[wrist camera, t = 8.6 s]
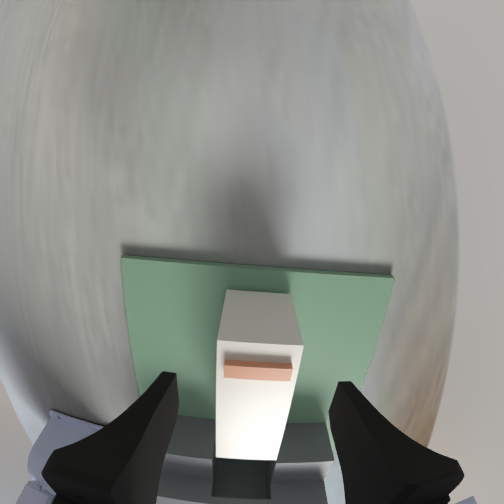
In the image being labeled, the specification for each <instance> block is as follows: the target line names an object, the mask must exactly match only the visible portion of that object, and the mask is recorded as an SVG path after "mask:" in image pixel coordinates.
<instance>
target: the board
mask: <svg viewBox="0 0 504 504" xmlns="http://www.w3.org/2000/svg"><path fill="white" fill-rule="evenodd" d="M121 265H122V278H123V289H124V299H125V308H126V316H127V324H128V332H129V339H130V345H131V352H132V358H133V363H134V369H135V375H136V380H137V385H138V390H139V395H140V396H141V395H142V394H143V393H144V392H145V391H146V390H147V389H148V388H149V386H150V385H151V384H152V383H153V382H154V381H155V379H156V378H157V377H158V376H159V374H160V373H161V372H163V371H166V372H173V373H176V374H177V386H178V396H179V408H178V414H177V415H184V416H191V417H199V418H208V419H216V362H217V337H218V332H219V327H220V321H221V316H222V311H223V306H224V300H225V295H226V290H227V289H229V290H242V291H255V292H269V293H284V294H292V298H293V302H294V307H295V311H296V315H297V319H298V323H299V327H300V331H301V336H302V340H303V344H304V347H303V352H302V357H301V361H300V366H299V371H298V375H297V380H296V384H295V389H294V393H293V397H292V401H291V406H290V410H289V414H288V418H287V422H286V423H323V422H326V425H327V430H328V434H329V439H330V443H331V448H332V452H333V451H334V449H335V444H334V440H333V437H332V433H331V428H330V421H329V413H328V411H329V408H330V405H331V402H332V399H333V396H334V393H335V390H336V387H337V384H338V381H351V382H352V383H353V384H354V385H355V386H356V387H357V389H358V390H359V391H360V388H361V386H362V383H363V381H364V378H365V375H366V372H367V370H368V367H369V364H370V361H371V358H372V355H373V352H374V349H375V346H376V343H377V340H378V337H379V334H380V331H381V328H382V324H383V321H384V318H385V314H386V311H387V307H388V303H389V300H390V296H391V292H392V288H393V285H394V281H395V278H394V277H393V276H392V275H386V274H370V273H354V272H339V271H324V270H310V269H295V268H282V267H268V266H255V265H242V264H229V263H216V262H204V261H191V260H179V259H167V258H156V257H144V256H133V255H124V256H122V257H121ZM217 458H220V457H217ZM226 459H232V458H226ZM240 460H248V459H240ZM262 461H266V460H262Z"/></svg>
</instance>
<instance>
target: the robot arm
mask: <svg viewBox="0 0 504 504" xmlns="http://www.w3.org/2000/svg"><path fill="white" fill-rule="evenodd" d="M178 408H179V396H178V386H177V374H176V373H173V372H166V371H163V372H161V373H160V374H159V376H158V377H157V378H156V379H155V381H154V382H153V383H152V384H151V385H150V386H149V388H148V389H147V390H146V391H145V392H144V393H143V394H142V395H141V396H140V397H139V398H138V399H137V400H136V401H135V402H134V403H133V404H132V405H131V406H130V407H129V408H128V409H127V410H125V411H124V412H123V413H122V414H121V415H120V416H118V417H117V418H116V419H114V420H113V421H112V422H110V423H109V424H108V425H106V426H104V427H103V426H99V425H96V424H92V423H89V422H86V421H83V420H79V419H76V418H73V417H70V416H67V415H64V414H61V413H58V412H56V411H53V410H50V411H49V415H50V417H51V418H50V419H49V421H48V423H47V424H46V426H45V427H44V429H43V431H42V432H41V434H40V436H39V437H38V439H37V441H36V442H35V444H34V446H33V447H32V449H31V452H30V454H29V458H28V472H29V475H30V477H31V479H32V481H29V482H28V483H27V484H26V485H25V487H24V489H23V491H22V493H21V495H20V497H19V498H18V500H17V502H16V504H156V501H157V494H158V487H159V481H160V476H161V470H162V466H163V462H164V458H165V455H166V452H167V449H168V446H169V443H170V440H171V437H172V433H173V430H174V427H175V424H176V419H177V414H178ZM328 413H329V421H330V428H331V433H332V437H333V440H334V444H335V448H336V451H337V455H338V458H339V462H340V466H341V470H342V475H343V483H344V491H345V501H346V504H448V502H449V501H450V497H449V495H448V494H449V493H451V492H452V491H453V490H454V489H455V488H456V487H457V486H458V485H459V484H460V482H461V481H462V480H463V477H464V473H463V471H462V469H461V467H460V465H459V463H458V461H457V460H454V459H452V458H449V457H446V456H443V455H441V454H438V453H436V452H434V451H432V450H430V449H428V448H426V447H424V446H422V445H421V444H419V443H417V442H416V441H414V440H412V439H411V438H409V437H408V436H407V435H405V434H404V433H402V432H401V431H400V430H399V429H397V428H396V427H395V426H394V425H392V424H391V423H390V422H389V421H388V420H387V419H386V418H385V417H384V416H383V415H382V414H380V413H379V412H378V411H377V409H376V408H375V407H374V406H373V405H372V404H371V403H370V402H369V401H368V400H367V399H366V398H365V397H364V395H363V394H362V393H361V392H360V391H359V390H358V389H357V387H356V386H355V385H354V384H353V383H352V382H351V381H338V384H337V387H336V390H335V393H334V396H333V399H332V402H331V405H330V408H329V411H328ZM456 504H477V503H476V501H475V499H474V497H473V496H472V497H469V498H467V499H465V500H463V501H460V502H458V503H456Z"/></svg>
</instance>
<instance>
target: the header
mask: <svg viewBox="0 0 504 504" xmlns="http://www.w3.org/2000/svg"><path fill="white" fill-rule="evenodd" d="M333 463H334V457H333V452H332V448H331V443H330V439H329V434H328V430H327V425H326V422H323V423H286V426H285V430H284V434H283V438H282V441H281V445H280V449H279V453H278V456H277V460H266V461H262V460H240V459H226V458H217V457H216V419H208V418H199V417H191V416H184V415H177V419H176V424H175V427H174V430H173V433H172V437H171V440H170V443H169V446H168V449H167V452H166V455H165V458H164V462H163V466H162V470H161V476H160V481H159V487H158V494H157V501H156V503H157V504H328V503H327V497H326V491H325V485H324V479H325V477H326V476H327V474H328V472H329V470H330V468H331V466H332V464H333Z"/></svg>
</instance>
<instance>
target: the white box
mask: <svg viewBox="0 0 504 504" xmlns="http://www.w3.org/2000/svg"><path fill="white" fill-rule="evenodd" d="M303 347H304V344H303V340H302V336H301V331H300V327H299V323H298V319H297V315H296V311H295V307H294V302H293V298H292V294H284V293H269V292H255V291H242V290H229V289H227V290H226V295H225V300H224V306H223V311H222V316H221V321H220V327H219V332H218V337H217V362H216V457H220V458H232V459H248V460H277V456H278V453H279V449H280V445H281V441H282V438H283V434H284V430H285V426H286V422H287V418H288V414H289V410H290V406H291V401H292V397H293V393H294V389H295V384H296V380H297V375H298V371H299V366H300V361H301V357H302V352H303Z"/></svg>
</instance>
